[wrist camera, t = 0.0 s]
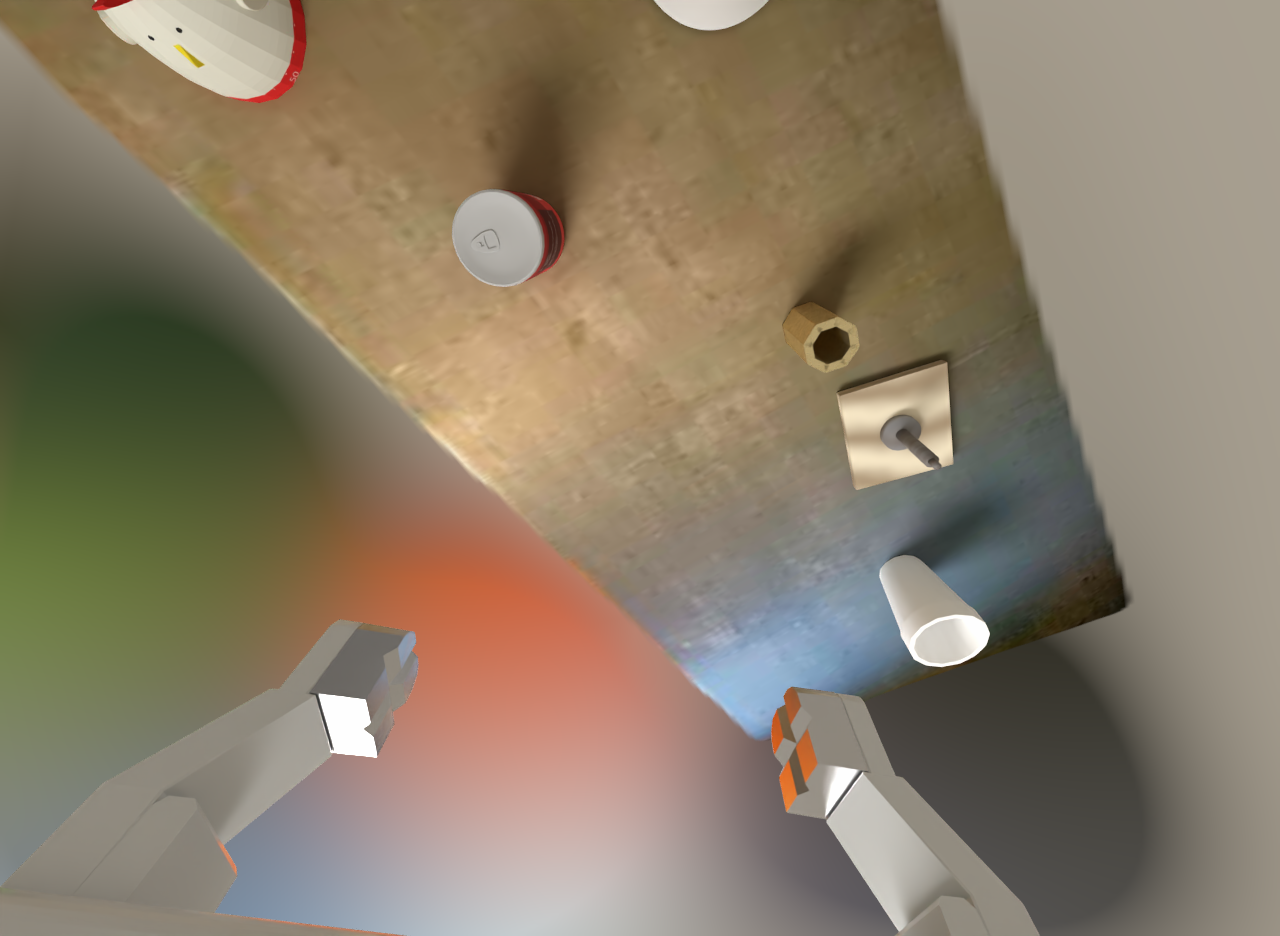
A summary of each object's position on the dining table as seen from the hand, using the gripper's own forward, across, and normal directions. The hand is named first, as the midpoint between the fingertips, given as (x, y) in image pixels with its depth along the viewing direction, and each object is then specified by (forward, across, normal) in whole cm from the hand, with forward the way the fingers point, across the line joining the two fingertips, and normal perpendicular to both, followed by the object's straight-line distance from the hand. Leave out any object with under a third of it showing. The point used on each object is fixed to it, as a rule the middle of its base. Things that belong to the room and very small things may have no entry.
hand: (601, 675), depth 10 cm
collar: (+48, -18, -1) cm, 51 cm away
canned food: (+48, +14, -5) cm, 50 cm away
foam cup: (+48, -44, +31) cm, 72 cm away
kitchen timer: (+48, +42, -19) cm, 67 cm away
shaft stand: (+48, -33, +9) cm, 59 cm away
